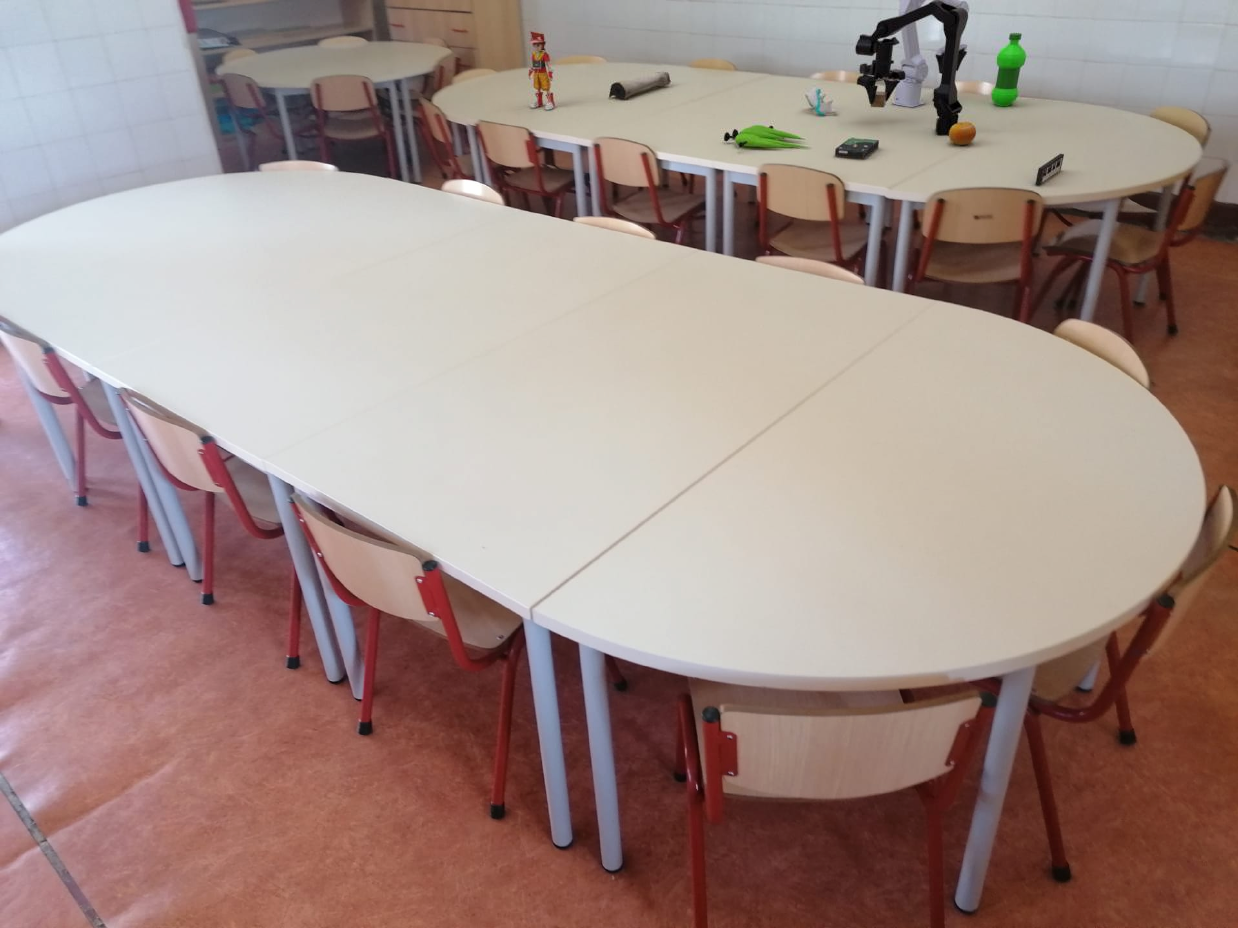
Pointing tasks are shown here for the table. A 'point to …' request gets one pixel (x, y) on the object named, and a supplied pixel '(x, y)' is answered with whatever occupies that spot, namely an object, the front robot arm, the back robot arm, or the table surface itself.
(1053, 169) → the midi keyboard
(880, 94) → the block
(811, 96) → the anatomical model
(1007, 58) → the plastic bottle
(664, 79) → the rolled mat
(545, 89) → the toy
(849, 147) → the disk drive
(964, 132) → the fruit
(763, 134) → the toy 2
